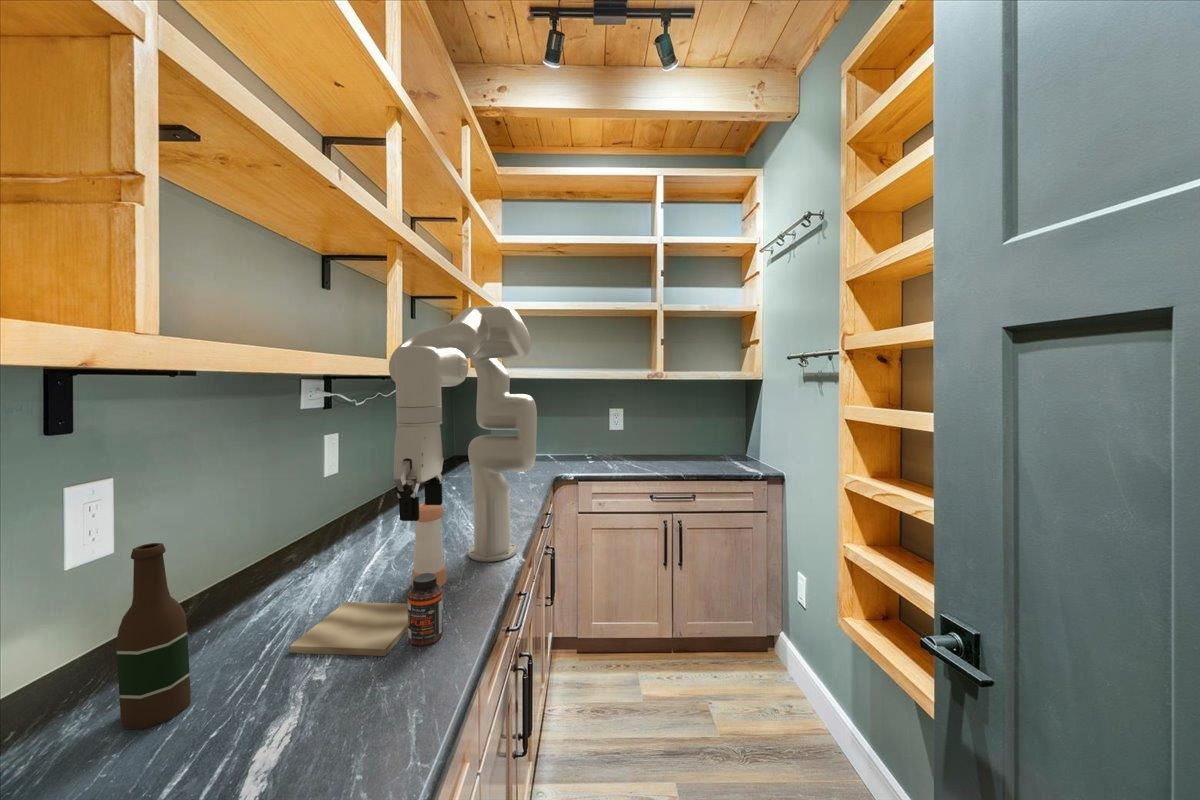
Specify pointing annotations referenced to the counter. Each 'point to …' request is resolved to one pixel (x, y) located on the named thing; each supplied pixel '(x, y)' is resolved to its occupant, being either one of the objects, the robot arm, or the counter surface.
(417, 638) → the supplement bottle
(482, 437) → the robot arm
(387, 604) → the birch board
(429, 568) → the pepper shaker
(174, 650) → the beer bottle
